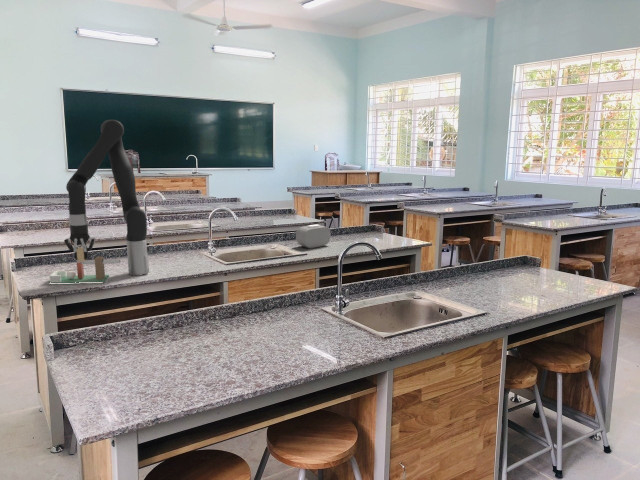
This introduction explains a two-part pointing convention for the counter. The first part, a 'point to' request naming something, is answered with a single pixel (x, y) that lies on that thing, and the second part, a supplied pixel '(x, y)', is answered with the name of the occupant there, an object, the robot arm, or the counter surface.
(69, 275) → the ball
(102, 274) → the pitch
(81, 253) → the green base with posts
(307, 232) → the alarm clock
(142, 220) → the robot arm
